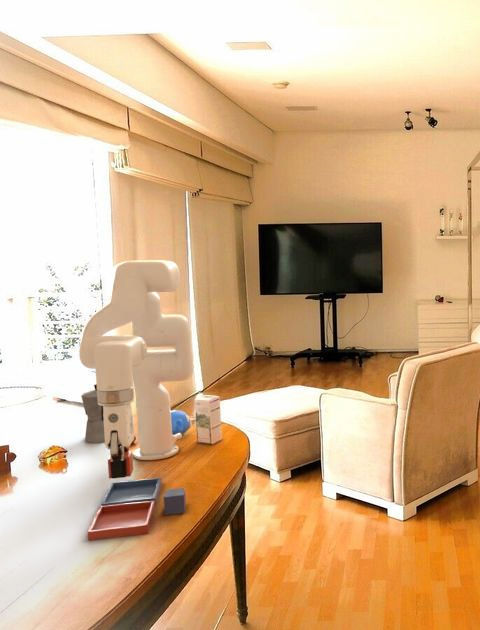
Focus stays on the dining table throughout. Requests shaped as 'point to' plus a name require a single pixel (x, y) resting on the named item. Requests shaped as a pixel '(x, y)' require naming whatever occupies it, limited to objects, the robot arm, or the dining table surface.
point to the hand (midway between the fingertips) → (121, 472)
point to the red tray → (122, 520)
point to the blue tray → (132, 491)
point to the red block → (128, 463)
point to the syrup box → (208, 419)
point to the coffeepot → (93, 417)
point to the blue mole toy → (180, 422)
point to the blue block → (175, 501)
